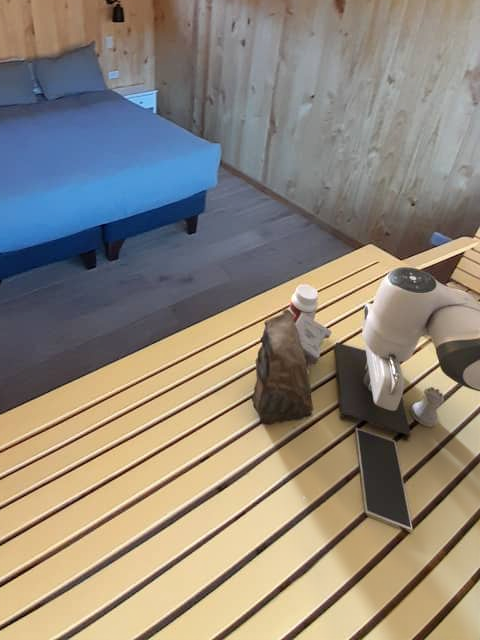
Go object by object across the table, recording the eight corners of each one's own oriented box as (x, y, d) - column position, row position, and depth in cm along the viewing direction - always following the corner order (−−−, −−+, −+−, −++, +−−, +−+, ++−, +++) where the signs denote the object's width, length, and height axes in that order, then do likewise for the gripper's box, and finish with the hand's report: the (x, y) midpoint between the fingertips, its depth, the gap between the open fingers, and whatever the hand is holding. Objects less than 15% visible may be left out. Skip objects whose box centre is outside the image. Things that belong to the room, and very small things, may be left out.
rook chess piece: (426, 431, 81) (440, 407, 77) (405, 411, 85) (417, 387, 81) (440, 422, 82) (454, 398, 79) (418, 402, 86) (431, 379, 83)
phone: (394, 443, 79) (395, 440, 79) (411, 533, 67) (413, 531, 66) (354, 429, 82) (355, 427, 81) (364, 514, 69) (365, 512, 69)
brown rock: (258, 429, 82) (273, 365, 73) (232, 373, 93) (242, 311, 84) (314, 418, 84) (336, 354, 75) (282, 364, 95) (298, 303, 86)
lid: (390, 365, 94) (397, 348, 91) (407, 441, 79) (416, 424, 77) (333, 349, 98) (339, 332, 96) (339, 419, 83) (346, 401, 81)
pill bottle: (283, 314, 108) (290, 282, 103) (305, 313, 108) (314, 282, 103) (291, 333, 103) (299, 300, 98) (315, 333, 103) (325, 300, 97)
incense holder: (309, 387, 90) (319, 356, 85) (273, 365, 95) (280, 334, 90) (323, 357, 96) (333, 327, 91) (289, 338, 101) (296, 308, 96)
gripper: (419, 388, 71) (397, 433, 78) (397, 305, 88) (380, 347, 94) (379, 376, 74) (360, 421, 80) (364, 297, 90) (350, 339, 97)
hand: (370, 380), depth 87 cm, fingers closed on lid, 2 cm apart
